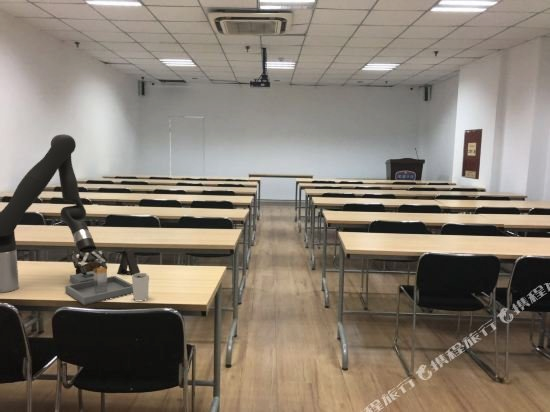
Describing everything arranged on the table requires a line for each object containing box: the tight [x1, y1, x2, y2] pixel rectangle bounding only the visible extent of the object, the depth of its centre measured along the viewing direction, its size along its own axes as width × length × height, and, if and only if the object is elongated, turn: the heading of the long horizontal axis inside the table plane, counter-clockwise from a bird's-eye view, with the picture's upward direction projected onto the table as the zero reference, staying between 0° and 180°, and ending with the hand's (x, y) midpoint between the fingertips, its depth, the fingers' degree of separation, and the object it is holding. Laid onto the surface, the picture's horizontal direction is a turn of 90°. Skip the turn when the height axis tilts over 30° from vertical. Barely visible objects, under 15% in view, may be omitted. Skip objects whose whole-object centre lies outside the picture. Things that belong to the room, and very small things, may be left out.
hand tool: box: [75, 254, 102, 274], centre depth 219 cm, size 23×5×6 cm, turn 171°
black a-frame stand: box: [116, 248, 141, 277], centre depth 213 cm, size 9×6×12 cm, turn 78°
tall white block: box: [92, 266, 108, 293], centre depth 184 cm, size 4×4×10 cm
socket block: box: [69, 270, 94, 284], centre depth 199 cm, size 12×12×3 cm
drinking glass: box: [131, 272, 150, 301], centre depth 178 cm, size 7×7×10 cm
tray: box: [64, 275, 133, 306], centre depth 185 cm, size 22×20×3 cm
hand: (95, 272), depth 187 cm, fingers open, 8 cm apart
